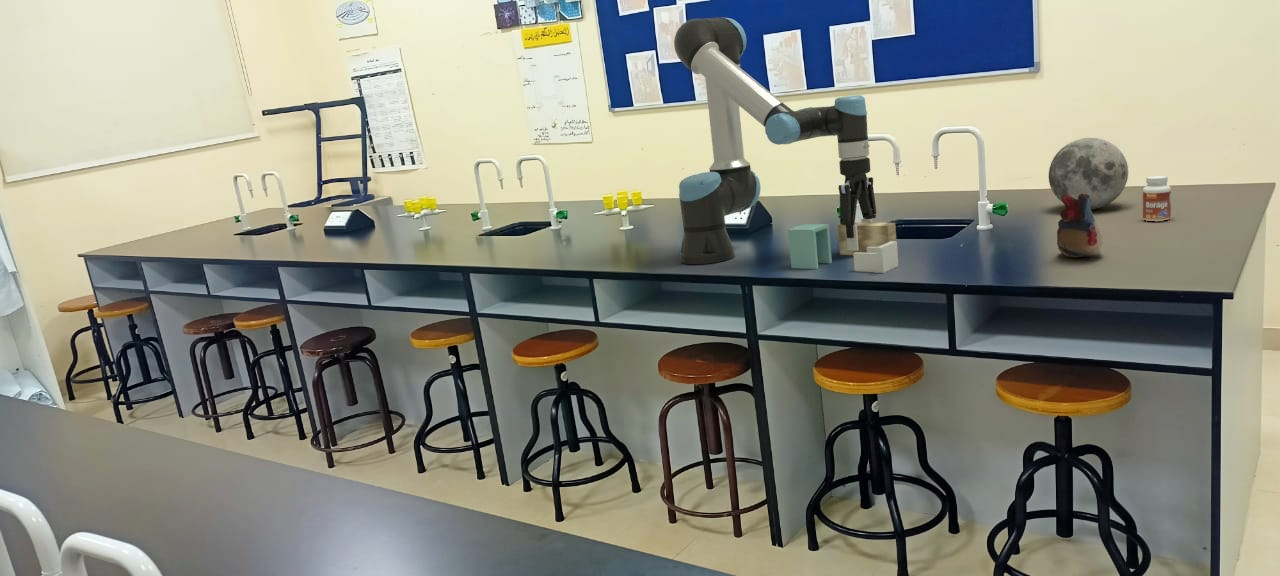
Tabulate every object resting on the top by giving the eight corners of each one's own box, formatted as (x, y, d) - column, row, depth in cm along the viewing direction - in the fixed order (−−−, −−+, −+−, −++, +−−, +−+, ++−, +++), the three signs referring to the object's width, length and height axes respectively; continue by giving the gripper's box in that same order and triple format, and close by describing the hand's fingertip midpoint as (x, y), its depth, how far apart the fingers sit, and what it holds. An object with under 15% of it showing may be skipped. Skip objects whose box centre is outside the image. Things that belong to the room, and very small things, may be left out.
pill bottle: (1142, 223, 232) (1142, 179, 229) (1142, 218, 237) (1142, 175, 234) (1171, 222, 229) (1171, 177, 226) (1170, 217, 234) (1170, 174, 231)
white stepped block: (854, 271, 218) (852, 246, 217) (869, 264, 223) (868, 240, 222) (883, 273, 213) (881, 247, 212) (898, 266, 218) (896, 241, 217)
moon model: (1070, 202, 272) (1068, 134, 268) (1141, 204, 256) (1140, 132, 252) (1036, 214, 260) (1033, 144, 256) (1108, 216, 244) (1107, 141, 240)
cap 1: (791, 268, 230) (787, 229, 228) (807, 261, 235) (803, 223, 233) (816, 269, 225) (813, 229, 223) (831, 262, 230) (828, 224, 228)
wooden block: (840, 255, 239) (837, 225, 237) (847, 252, 242) (845, 222, 240) (889, 257, 230) (887, 225, 228) (897, 253, 232) (895, 222, 231)
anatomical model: (1105, 250, 208) (1104, 184, 204) (1100, 263, 197) (1099, 193, 194) (1060, 251, 212) (1058, 187, 209) (1053, 263, 202) (1051, 195, 199)
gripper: (847, 163, 222) (854, 255, 227) (886, 152, 236) (892, 239, 241) (820, 164, 227) (827, 254, 232) (860, 153, 241) (866, 238, 246)
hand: (860, 246), depth 237 cm, fingers open, 7 cm apart
